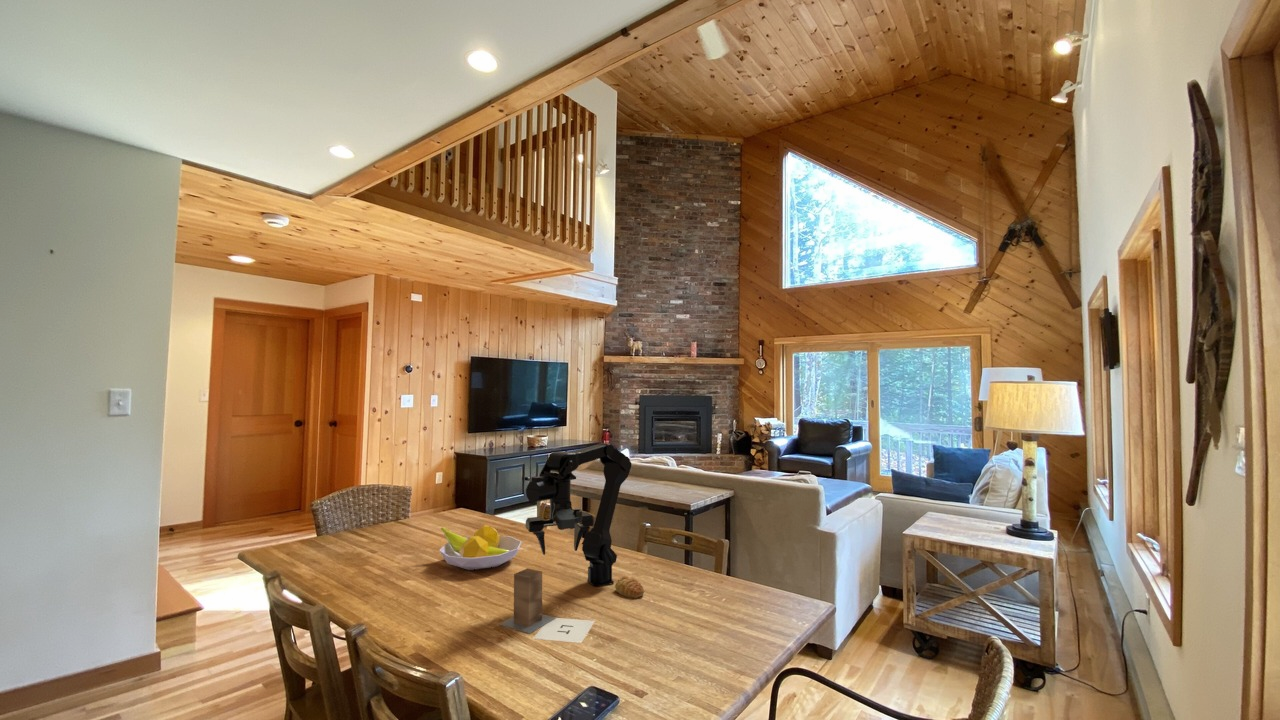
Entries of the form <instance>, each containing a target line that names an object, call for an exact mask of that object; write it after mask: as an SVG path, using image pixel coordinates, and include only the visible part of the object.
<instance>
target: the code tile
mask: <svg viewBox="0 0 1280 720" xmlns="http://www.w3.org/2000/svg"><path fill="white" fill-rule="evenodd" d="M555 618H556V619H554V620H553V621H551V622H549V623H547V624H546V625H544V626H543V627H541V628H539V629H538V632H537V633H536V634H535V635H534V636H533V637H532V639H533V640H544V641H545V640H546V641H552V642H553V641H554V642H555V641H556V642H565V643H578V644H582V643H583V641H584V640H585V638H586V637H587V635H588V633H590V630H591V629H592V627H593V625H594V624H595V622H596V621H595V620H587V619H576V618H575V619H574V618H573V619H572V618H562V617H555Z"/></svg>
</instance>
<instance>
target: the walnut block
mask: <svg viewBox="0 0 1280 720" xmlns="http://www.w3.org/2000/svg"><path fill="white" fill-rule="evenodd" d="M542 614H543V571H541V570H536V569H532V568H525V569H523V570H520V571H518V572H516V573H514V574H513V617H514V623H517V624H521V625H524V626H527V627H529V626H531V625H533V624H535V623H536V622H538V621H540V620H542Z"/></svg>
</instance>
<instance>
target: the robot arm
mask: <svg viewBox="0 0 1280 720" xmlns="http://www.w3.org/2000/svg"><path fill="white" fill-rule="evenodd" d="M596 460H599V462H600V463H601V464H602V465H603V470H602V472H603V475H604V476H603V477H604V480H605V482H604V487H603V490H602V493H601V498H600V501H599V505H598V509H597V513H596V517H595V518H594V516H593V515H592V514H591V513H589V512H587V511H584V512H583V510H582V508H575V509H573V507H572V506H573V505H572V501H571V490H572V489H571V485H572V482H571V481H573V480H576V479H577V476H576V475H574V473H572V472H574V471H575V470H577V469H578V468H579V466H581V465H583V464H587V463H590V462H593V461H596ZM631 469H632V462H631V460H630V458H629V456H627V455H626V454H625V453H622V452H621V451H620V450H618V449H617V448H615V447H614V445H612V444H610V443H605V442H599V443H596V444H594V445H591V446H587V447H584V448H580V449H577V450H573V451H552V452H551V453H549V455H548V456H547V459H546V462H545V464H544V465H543V467H542V469H541V471H540V473H539V475H538V476H532V477H531V478H530V482H529V483H528V484H527V486H526V488H525V494H526V499H528V501H529V502H530V503H532V504H535V503H541V502H544V501H549V518H548V519H543V518H542V517H541V516H531V517H526V520H525V529H526V530H527V531H528V533H532V534H533V535H535V536H536V539H537V541H538V544H539V546H540V550H541V552H542V555H543V556H545V555H546V543H545V542H546V541H545V534H546V532H545V531H544V528H546V527H554V526H556V528H557V529H558V530H560V531H563V530H568V529H570V530H574V535H573V546H574V548H573V549H574V551H575V552H577V551H578V548H579V545H580V542H581V545H582V546H581V551H582V552H583V555H584V559H585V561H587V562H589V566H588V567H587V581H588V582H589V583H590V585H592V586H593V587H600V586H601V587H602V586H607V585H613V584H614V583H615V582H614V581H615V580H613V565H614V563H616V562H617V558H618V554H616V552H615V551H614V550H613V549H612V536H611V532H610V529H611V525H612V522H613V519H614V518H613V517H614V514H615V509H616V505H617V501H618V497H619V493H620V490H621V486H622V484H624V483H625V481H626V480H627V478H628V477H629V474H630V473H631ZM591 527H592V528H591ZM590 528H591V529H590ZM589 529H590V530H589ZM588 530H589V531H588ZM583 535H584V536H583ZM582 537H583V541H581V539H582Z"/></svg>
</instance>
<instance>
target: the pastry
mask: <svg viewBox="0 0 1280 720" xmlns="http://www.w3.org/2000/svg"><path fill="white" fill-rule="evenodd" d="M614 587H615V590H616V592H617V593H619V595H621V596H625V597H627V598H630V599H631V598H635V599H636V598H639V597H642V596H644V594H645V590H644V586H643V585H642V584H641V583H640V582H639V581H638V580H637V579H635V578H634V577H629V576H621V577H620V578H619V579H618V580H617V581H616V583H615V584H614Z"/></svg>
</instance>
